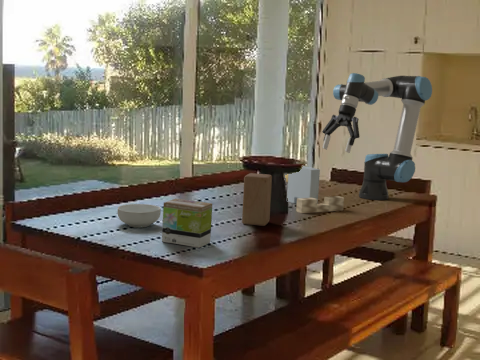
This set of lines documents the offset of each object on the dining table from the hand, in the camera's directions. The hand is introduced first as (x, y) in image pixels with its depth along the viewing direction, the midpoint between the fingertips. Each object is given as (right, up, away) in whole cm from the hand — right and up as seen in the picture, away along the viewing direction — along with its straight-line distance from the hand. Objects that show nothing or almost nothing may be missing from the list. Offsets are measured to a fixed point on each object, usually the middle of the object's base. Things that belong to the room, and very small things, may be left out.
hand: (335, 150), depth 335 cm
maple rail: (-7, -28, +1) cm, 29 cm away
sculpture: (-13, -16, +83) cm, 86 cm away
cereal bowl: (-83, -31, -50) cm, 102 cm away
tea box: (-63, -36, -75) cm, 104 cm away
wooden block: (-37, -31, -34) cm, 60 cm away
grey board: (-14, -25, +16) cm, 33 cm away
